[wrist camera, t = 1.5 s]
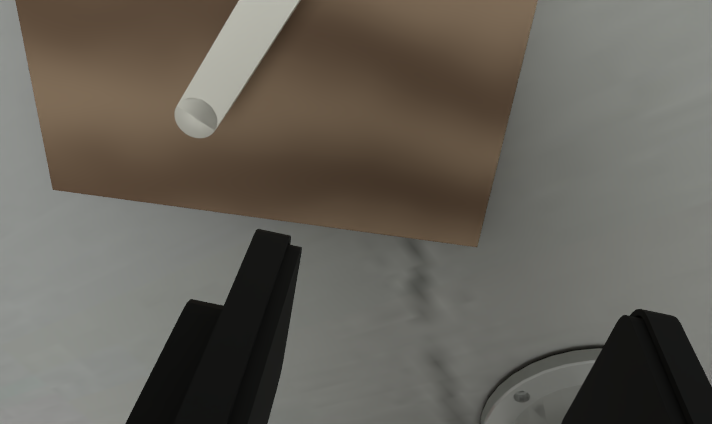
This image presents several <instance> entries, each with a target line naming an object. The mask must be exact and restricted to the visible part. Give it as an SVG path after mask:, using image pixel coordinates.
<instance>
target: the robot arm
mask: <svg viewBox="0 0 712 424" xmlns="http://www.w3.org/2000/svg"><path fill="white" fill-rule="evenodd" d="M290 242H291V236H289V235H285V234H280V233H275V232H270V231H266V230H261V229H257V230H256V232H255V234H254V236H253V238H252V241H251V243H250V245H249V248H248V250H247V253H246V255H245V257H244V260H243V262H242V264H241V267H240V269H239V271H238V274H237V276H236V278H235V281H234V283H233V285H232V288H231V290H230V293H229V295H228V297H227V300H226V302H225V304H224V306H222V305H217V304H212V303H207V302H203V301H198V300H193V299H191V300H189V301H188V302H187V304H186V306H185V307H184V309H183V311H182V313H181V315H180V317H179V319H178V321H177V323H176V325H175V327H174V329H173V331H172V332H171V334H170V336H169V338H168V340H167V342H166V344H165V346H164V348H163V350H162V352H161V354H160V356H159V358H158V360H157V362H156V364H155V366H154V368H153V370H152V372H151V374H150V376H149V378H148V380H147V382H146V384H145V386H144V388H143V390H142V392H141V394H140V396H139V398H138V400H137V402H136V404H135V406H134V408H133V410H132V412H131V414H130V416H129V418H128V420H127V422H126V424H267V423H268V419H269V416H270V412H271V408H272V405H273V401H274V397H275V394H276V390H277V386H278V382H279V378H280V374H281V369H282V364H283V359H284V353H285V347H286V341H287V335H288V329H289V323H290V317H291V311H292V305H293V299H294V293H295V287H296V281H297V275H298V269H299V263H300V257H301V251H302V247H298V246H293V245H290ZM480 424H712V387H711V385H710V383H709V381H708V378H707V376H706V374H705V372H704V370H703V368H702V366H701V364H700V362H699V360H698V358H697V356H696V354H695V352H694V350H693V348H692V346H691V344H690V342H689V340H688V338H687V336H686V334H685V332H684V330H683V328H682V325H681V323H680V322H679V320H678V319H677V318H676V317H674V316H671V315H666V314H662V313H657V312H652V311H647V310H642V309H637V310H635V311H634V312H632V314H631V315H630V316H627V315H623V316H622V317H620V319H619V320H618V322H617V323H616V325H615V327H614V329H613V331H612V332H611V334H610V336H609V338H608V340H607V341H606V343H605V345H604V347H603V348H597V349H586V350H576V351H571V352H567V353H562V354H558V355H554V356H550V357H548V358H545V359H543V360H540V361H537V362H535V363H532V364H530V365H528V366H526V367H525V368H523V369H521V370H520V371H518V372H516V373H514V374H513V375H511V376H510V377H509V378H508V379H507V380H505V381H504V382H503V383H502V384H501V385H500V386H498V388H497V389H496V390H495V391H494V393H493V394H492V395H491V396H490V398H489V399H488V401H487V403H486V405H485V407H484V409H483V412H482V415H481V421H480Z"/></svg>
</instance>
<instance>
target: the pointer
mask: <svg viewBox="0 0 712 424" xmlns="http://www.w3.org/2000/svg"><path fill="white" fill-rule="evenodd" d="M300 1H301V0H239V1H238V3H237V4H236V6H235V8H234V9H233V11H232V13H231V15H230V16H229V18H228V20H227V21H226V23H225V25H224V26H223V28H222V30H221V32H220V33H219V35H218V37H217V38H216V40H215V42H214V43H213V45H212V47H211V49H210V50H209V52H208V54H207V55H206V57H205V59H204V60H203V62H202V64H201V65H200V67H199V69H198V71H197V72H196V74H195V76H194V77H193V79H192V81H191V82H190V84H189V86H188V88H187V89H186V91H185V93H184V94H183V96H182V98H181V99H180V101H179V103H178V105H177V106H176V109H175V120H176V123H177V125H178V127H179V128H180V129H181V130H182V131H183V132H184V133H185V134H187V135H189V136H191V137H194V138H206V137H208V136H210V135H212V134H213V133H214V131H215V130H216V129H217V127H218V126H219V124H220V123H221V121H222V120H223V118H224V117H225V116H226V114H227V113H228V111H229V110H230V108H231V107H232V105H233V104H234V102H235V101H236V100H237V98H238V96H239V95H240V93H241V92H242V90H243V89H244V87H245V86H246V84H247V83H248V81H249V80H250V78H251V76H252V75H253V73H254V72H255V70H256V69H257V67H258V66H259V64H260V63H261V61H262V59H263V58H264V56H265V55H266V53H267V52H268V50H269V49H270V47H271V46H272V44H273V42H274V41H275V39H276V38H277V36H278V35H279V33H280V32H281V30H282V29H283V27H284V25H285V24H286V22H287V21H288V19H289V18H290V16H291V15H292V13H293V12H294V10H295V9H296V7H297V5H298V4H299V2H300Z"/></svg>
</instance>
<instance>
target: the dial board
mask: <svg viewBox="0 0 712 424" xmlns="http://www.w3.org/2000/svg"><path fill="white" fill-rule="evenodd" d="M15 1H16V6H17V11H18V16H19V21H20V26H21V31H22V36H23V41H24V46H25V51H26V56H27V61H28V66H29V71H30V76H31V81H32V87H33V92H34V97H35V102H36V107H37V112H38V117H39V122H40V127H41V132H42V137H43V142H44V147H45V152H46V157H47V162H48V167H49V173H50V178H51V183H52V188H53V190H59V191H66V192H74V193H81V194H88V195H96V196H103V197H111V198H118V199H125V200H133V201H140V202H147V203H155V204H162V205H170V206H177V207H184V208H192V209H199V210H206V211H214V212H221V213H228V214H236V215H243V216H251V217H258V218H265V219H273V220H280V221H287V222H295V223H302V224H310V225H317V226H324V227H332V228H339V229H346V230H354V231H361V232H369V233H376V234H383V235H391V236H398V237H405V238H413V239H420V240H428V241H435V242H442V243H450V244H457V245H464V246H472V247H477V246H478V242H479V237H480V233H481V229H482V225H483V221H484V217H485V213H486V209H487V205H488V201H489V197H490V193H491V189H492V184H493V180H494V176H495V172H496V168H497V164H498V160H499V156H500V152H501V148H502V144H503V140H504V136H505V131H506V127H507V123H508V119H509V115H510V111H511V107H512V103H513V99H514V95H515V91H516V87H517V83H518V78H519V74H520V70H521V66H522V62H523V58H524V54H525V50H526V46H527V42H528V38H529V34H530V29H531V25H532V21H533V17H534V13H535V9H536V5H537V1H538V0H301V1H300V2H299V4H298V5H297V7H296V9H295V10H294V12H293V13H292V15H291V16H290V18H289V19H288V21H287V22H286V24H285V25H284V27H283V29H282V30H281V32H280V33H279V35H278V36H277V38H276V39H275V41H274V42H273V44H272V46H271V47H270V49H269V50H268V52H267V53H266V55H265V56H264V58H263V59H262V61H261V63H260V64H259V66H258V67H257V69H256V70H255V72H254V73H253V75H252V76H251V78H250V80H249V81H248V83H247V84H246V86H245V87H244V89H243V90H242V92H241V93H240V95H239V96H238V98H237V100H236V101H235V102H234V104H233V105H232V107H231V108H230V110H229V111H228V113H227V114H226V116H225V117H224V118H223V120H222V121H221V123H220V124H219V126H218V127H217V129H216V130H215V131H214V133H213V134H212V135H210V136H208V137H206V138H194V137H191V136H189V135H187V134H185V133H184V132H183V131H182V130H181V129H180V128H179V127H178V125H177V123H176V120H175V109H176V106H177V105H178V103H179V101H180V99H181V98H182V96H183V94H184V93H185V91H186V89H187V88H188V86H189V84H190V82H191V81H192V79H193V77H194V76H195V74H196V72H197V71H198V69H199V67H200V65H201V64H202V62H203V60H204V59H205V57H206V55H207V54H208V52H209V50H210V49H211V47H212V45H213V43H214V42H215V40H216V38H217V37H218V35H219V33H220V32H221V30H222V28H223V26H224V25H225V23H226V21H227V20H228V18H229V16H230V15H231V13H232V11H233V9H234V8H235V6H236V4H237V3H238V1H239V0H15Z"/></svg>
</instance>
